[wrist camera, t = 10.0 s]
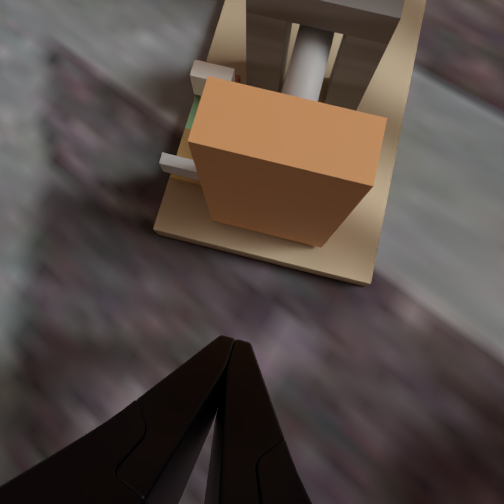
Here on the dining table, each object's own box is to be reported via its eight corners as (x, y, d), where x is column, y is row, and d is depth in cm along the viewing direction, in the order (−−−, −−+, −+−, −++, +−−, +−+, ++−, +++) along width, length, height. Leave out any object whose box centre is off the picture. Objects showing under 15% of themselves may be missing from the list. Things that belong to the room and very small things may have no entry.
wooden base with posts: (364, 286, 19) (467, 243, 10) (157, 234, 19) (82, 148, 10) (422, -6, 22) (538, -232, 13) (244, -45, 22) (243, -290, 14)
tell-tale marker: (230, 103, 19) (229, 84, 17) (193, 93, 19) (189, 75, 18) (235, 87, 19) (234, 68, 18) (198, 79, 19) (194, 59, 18)
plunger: (321, 247, 18) (373, 186, 10) (155, 206, 18) (93, 118, 11) (360, 72, 20) (429, -86, 12) (209, 37, 20) (187, -138, 13)
